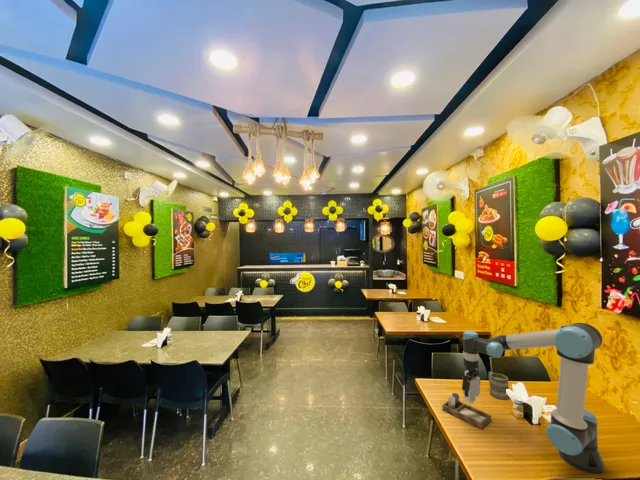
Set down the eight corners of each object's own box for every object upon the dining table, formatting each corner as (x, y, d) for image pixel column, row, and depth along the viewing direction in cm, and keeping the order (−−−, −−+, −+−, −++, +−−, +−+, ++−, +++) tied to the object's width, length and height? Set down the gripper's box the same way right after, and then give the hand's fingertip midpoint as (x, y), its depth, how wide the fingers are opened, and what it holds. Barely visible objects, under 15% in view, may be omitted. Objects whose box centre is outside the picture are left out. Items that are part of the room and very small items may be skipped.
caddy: (491, 420, 152) (491, 406, 152) (481, 429, 145) (481, 414, 145) (452, 402, 170) (452, 389, 170) (442, 410, 163) (442, 396, 163)
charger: (481, 404, 154) (480, 377, 155) (469, 408, 151) (468, 381, 151) (473, 400, 159) (473, 374, 159) (462, 403, 155) (461, 377, 156)
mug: (513, 399, 172) (512, 380, 173) (496, 399, 173) (495, 380, 173) (497, 386, 188) (497, 369, 188) (481, 387, 188) (481, 369, 188)
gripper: (473, 352, 165) (473, 389, 164) (454, 362, 152) (455, 402, 151) (486, 356, 159) (487, 394, 158) (468, 366, 146) (469, 408, 145)
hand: (471, 398), depth 155 cm, fingers closed on charger, 10 cm apart
